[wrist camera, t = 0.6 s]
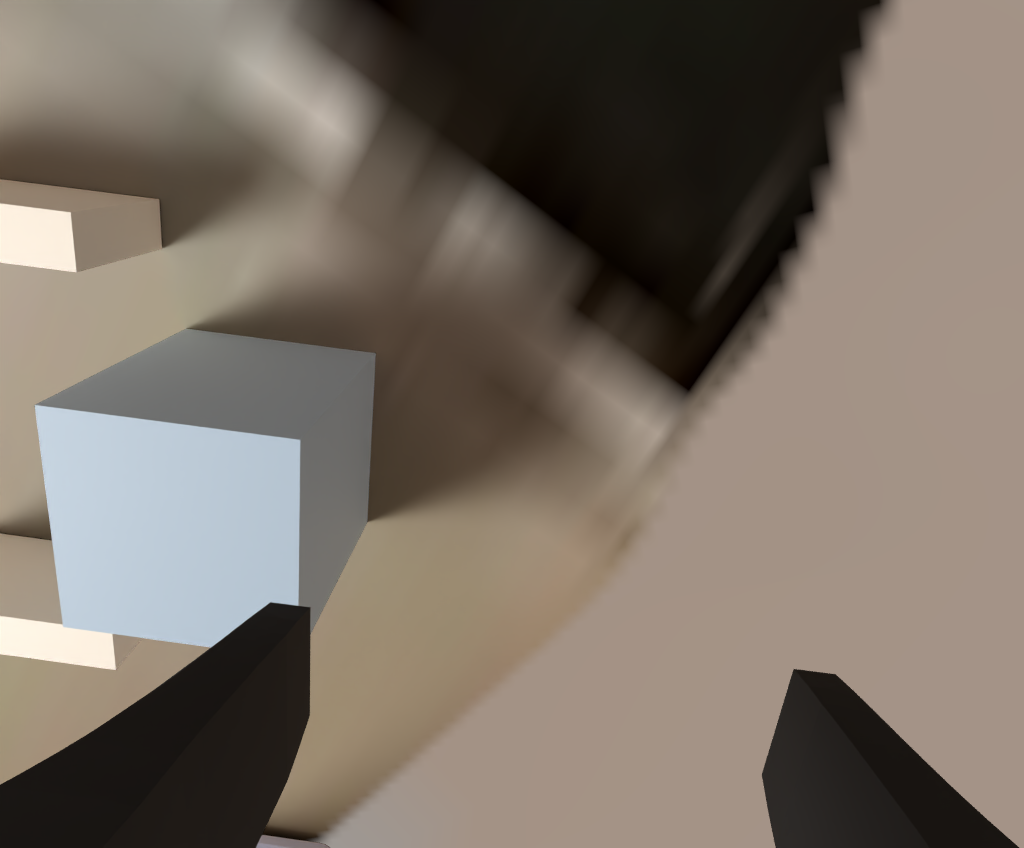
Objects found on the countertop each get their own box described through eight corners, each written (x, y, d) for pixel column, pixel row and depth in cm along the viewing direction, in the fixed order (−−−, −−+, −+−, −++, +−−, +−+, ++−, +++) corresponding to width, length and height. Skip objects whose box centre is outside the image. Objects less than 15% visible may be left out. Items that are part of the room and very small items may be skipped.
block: (367, 521, 21) (297, 658, 15) (195, 498, 21) (63, 626, 16) (376, 352, 19) (300, 439, 14) (186, 327, 19) (35, 404, 14)
